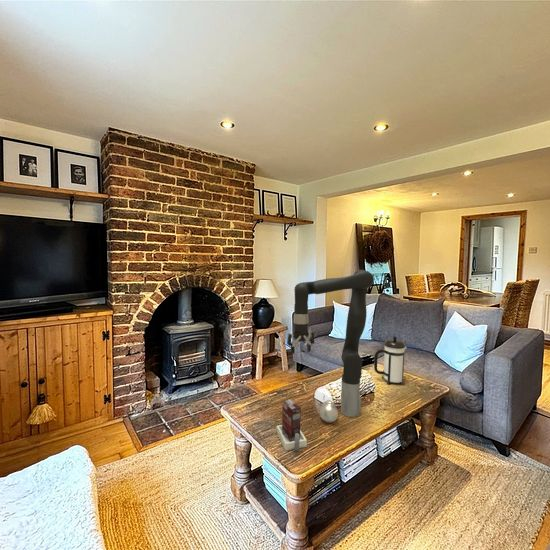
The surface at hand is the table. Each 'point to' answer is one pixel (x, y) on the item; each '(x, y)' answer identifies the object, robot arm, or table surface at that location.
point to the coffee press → (392, 360)
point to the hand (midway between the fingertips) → (300, 352)
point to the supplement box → (290, 419)
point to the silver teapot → (329, 411)
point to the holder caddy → (293, 444)
